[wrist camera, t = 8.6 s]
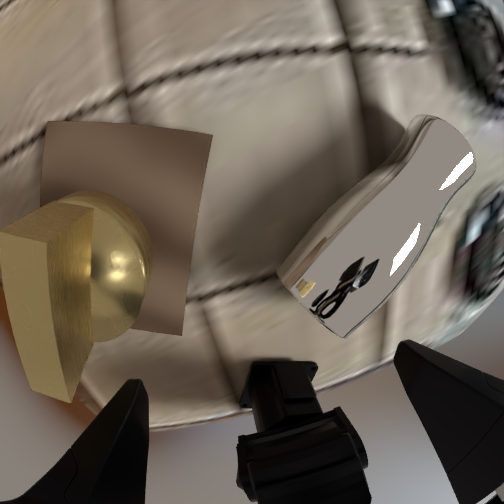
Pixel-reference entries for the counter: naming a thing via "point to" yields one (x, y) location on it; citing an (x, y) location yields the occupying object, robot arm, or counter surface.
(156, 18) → the counter surface
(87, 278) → the cap
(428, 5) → the counter surface
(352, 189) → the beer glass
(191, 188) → the base
